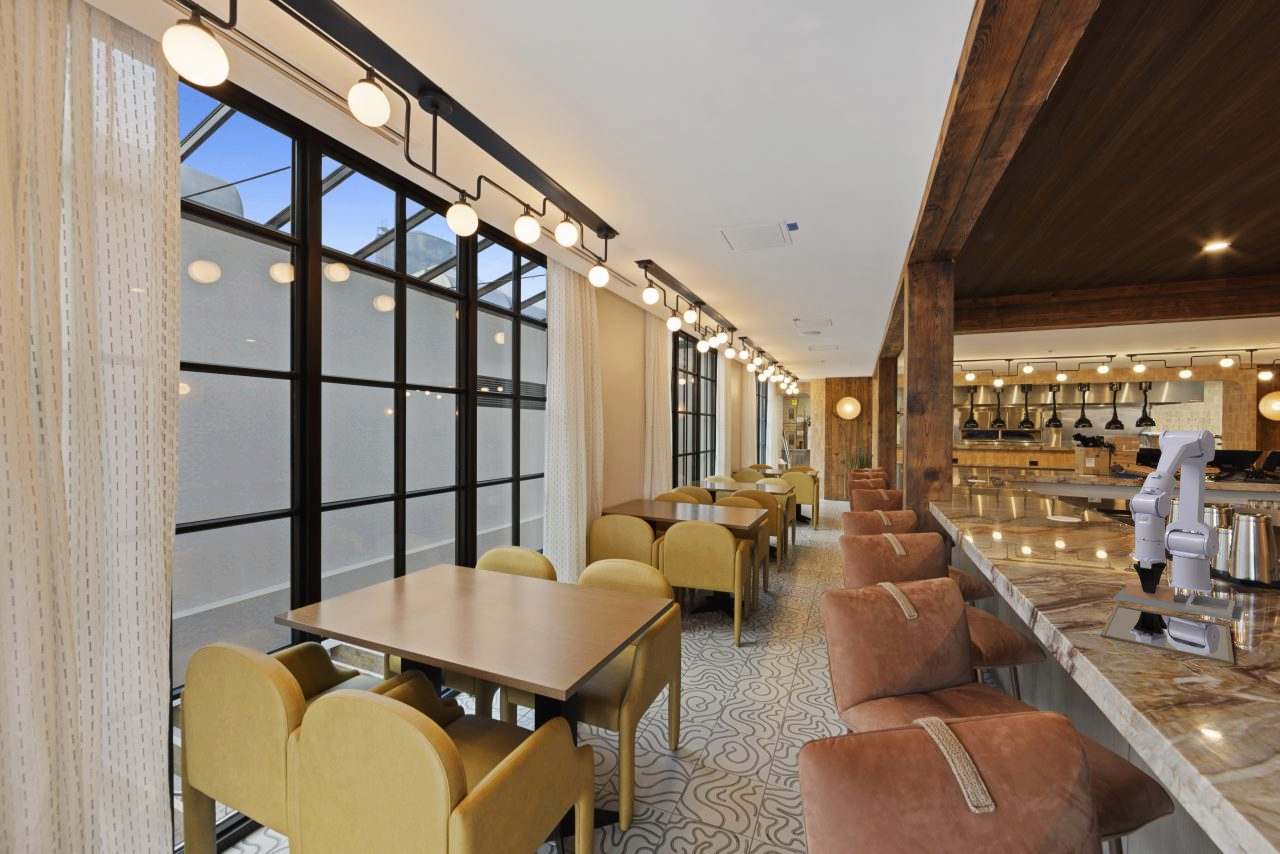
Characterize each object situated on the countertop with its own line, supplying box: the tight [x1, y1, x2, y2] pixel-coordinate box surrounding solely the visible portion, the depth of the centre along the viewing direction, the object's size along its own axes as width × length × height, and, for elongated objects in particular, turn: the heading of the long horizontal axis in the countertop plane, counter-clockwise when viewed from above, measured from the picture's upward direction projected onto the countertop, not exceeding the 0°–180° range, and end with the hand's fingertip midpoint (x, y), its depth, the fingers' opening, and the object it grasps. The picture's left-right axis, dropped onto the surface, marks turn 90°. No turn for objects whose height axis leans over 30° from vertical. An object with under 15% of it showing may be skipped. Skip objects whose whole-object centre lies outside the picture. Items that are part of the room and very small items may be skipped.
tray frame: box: [1186, 593, 1236, 618], centre depth 132 cm, size 13×8×2 cm, turn 130°
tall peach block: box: [1125, 579, 1176, 602], centre depth 141 cm, size 4×9×3 cm, turn 40°
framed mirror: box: [1100, 604, 1235, 666], centre depth 118 cm, size 19×1×28 cm
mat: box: [1112, 586, 1244, 623], centre depth 136 cm, size 16×22×1 cm
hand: (1150, 591), depth 141 cm, fingers closed on tall peach block, 4 cm apart
